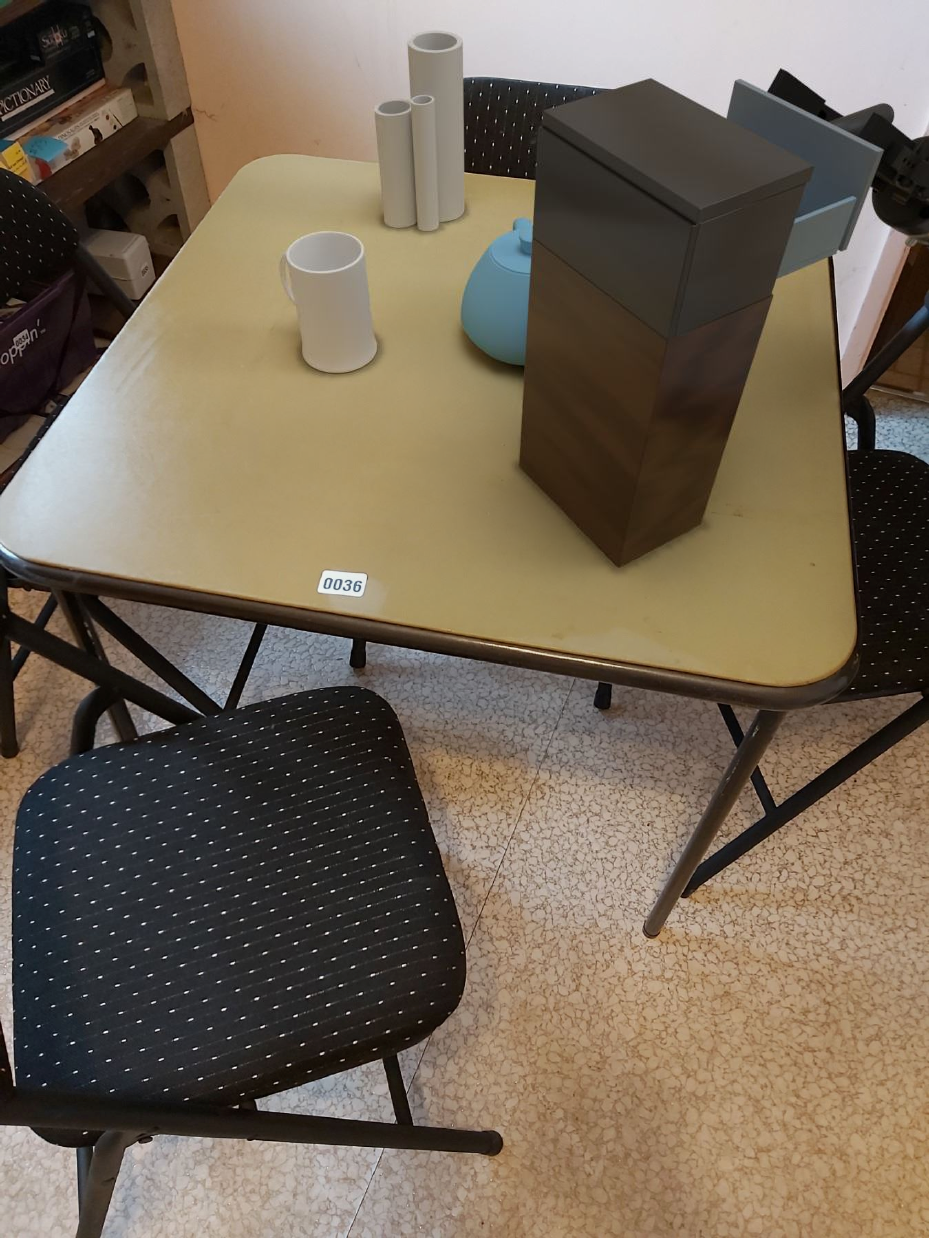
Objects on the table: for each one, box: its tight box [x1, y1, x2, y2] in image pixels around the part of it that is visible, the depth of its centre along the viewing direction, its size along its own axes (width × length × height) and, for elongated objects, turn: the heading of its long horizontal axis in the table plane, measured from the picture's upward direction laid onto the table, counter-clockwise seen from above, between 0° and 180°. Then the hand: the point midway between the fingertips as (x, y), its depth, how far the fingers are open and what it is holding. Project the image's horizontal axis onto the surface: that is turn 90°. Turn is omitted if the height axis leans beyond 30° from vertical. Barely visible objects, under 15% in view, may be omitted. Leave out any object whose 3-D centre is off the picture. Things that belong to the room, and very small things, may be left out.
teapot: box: [460, 217, 533, 366], centre depth 92 cm, size 20×20×13 cm
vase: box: [373, 30, 466, 232], centre depth 105 cm, size 11×7×20 cm, turn 126°
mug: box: [278, 230, 378, 374], centre depth 92 cm, size 12×8×12 cm
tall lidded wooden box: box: [518, 77, 815, 568], centre depth 69 cm, size 10×16×33 cm, turn 32°
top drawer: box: [726, 78, 895, 280], centre depth 64 cm, size 20×14×7 cm
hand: (817, 111), depth 61 cm, fingers closed on top drawer, 8 cm apart
